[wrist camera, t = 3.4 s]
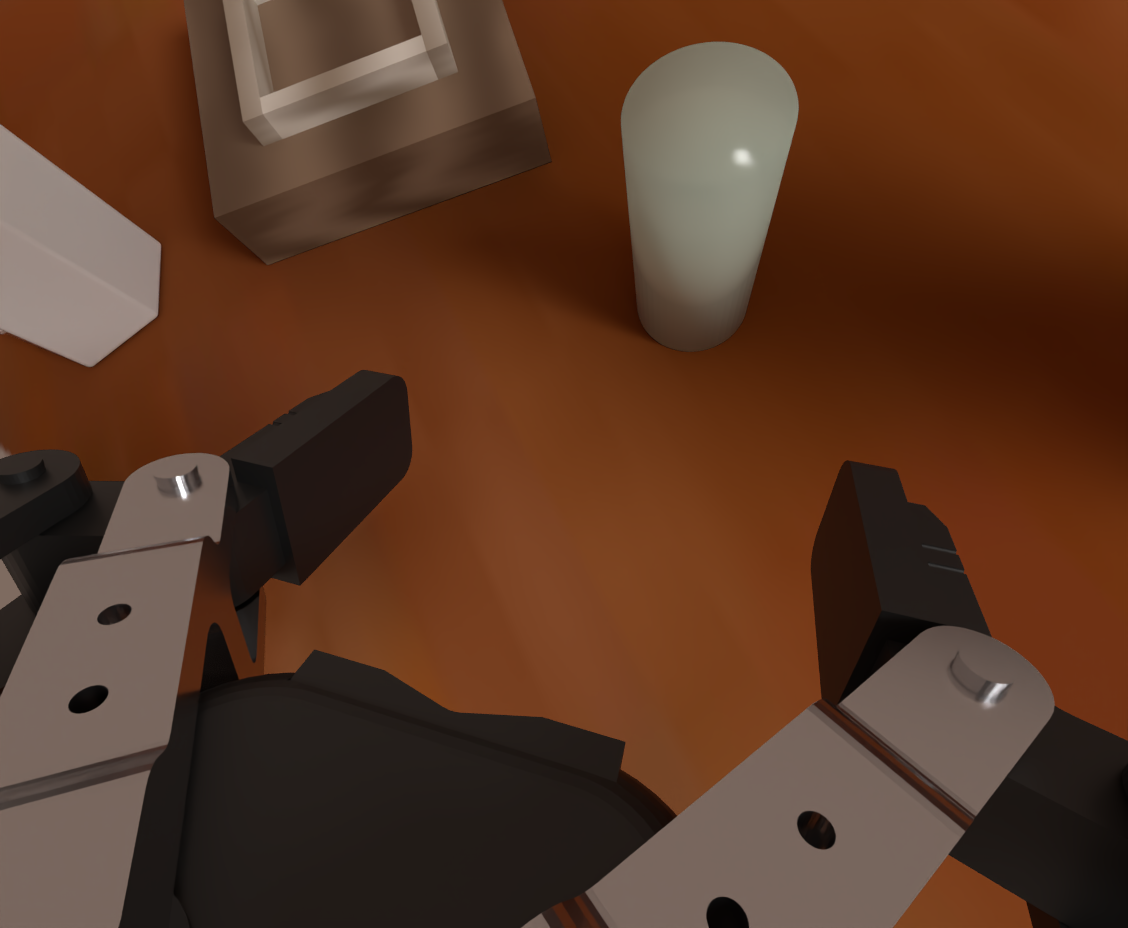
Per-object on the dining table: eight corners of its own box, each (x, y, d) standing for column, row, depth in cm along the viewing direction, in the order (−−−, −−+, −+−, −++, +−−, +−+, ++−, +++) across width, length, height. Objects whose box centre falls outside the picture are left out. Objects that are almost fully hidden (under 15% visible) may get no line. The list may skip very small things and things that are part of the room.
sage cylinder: (725, 239, 29) (760, 18, 18) (763, 330, 27) (826, 149, 17) (623, 274, 29) (599, 78, 18) (656, 366, 28) (651, 211, 17)
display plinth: (478, -53, 36) (445, -169, 30) (551, 161, 31) (528, 69, 26) (231, 46, 37) (158, -49, 32) (267, 265, 32) (190, 196, 27)
